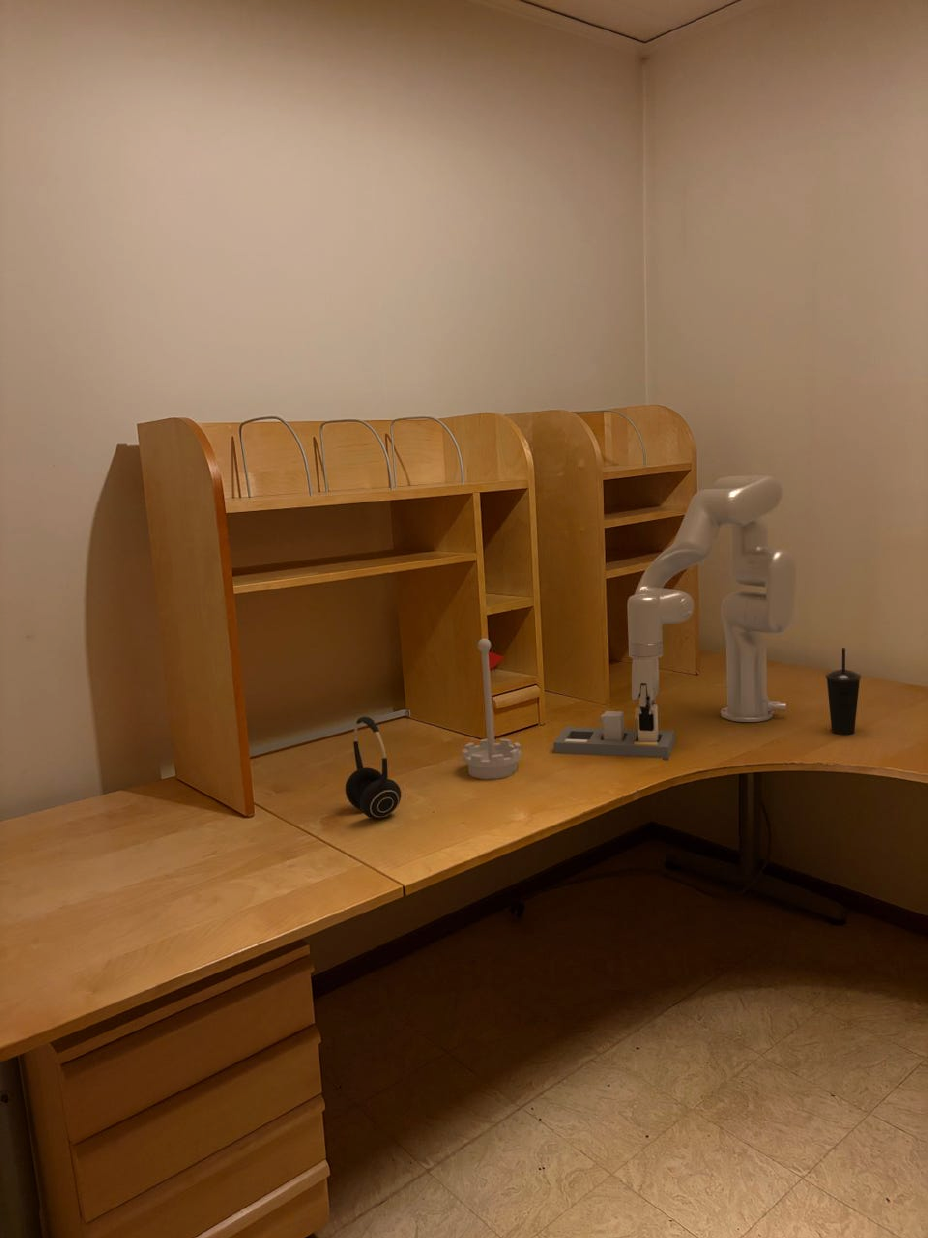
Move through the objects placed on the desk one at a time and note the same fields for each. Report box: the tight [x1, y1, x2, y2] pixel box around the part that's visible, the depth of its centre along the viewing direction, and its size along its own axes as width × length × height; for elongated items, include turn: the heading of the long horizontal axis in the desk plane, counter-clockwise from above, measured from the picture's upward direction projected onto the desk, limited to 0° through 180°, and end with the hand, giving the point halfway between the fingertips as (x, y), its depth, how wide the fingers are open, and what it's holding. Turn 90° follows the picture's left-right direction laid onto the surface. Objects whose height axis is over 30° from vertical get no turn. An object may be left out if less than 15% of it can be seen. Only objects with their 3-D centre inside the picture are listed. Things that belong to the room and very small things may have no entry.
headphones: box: [345, 716, 402, 820], centre depth 186 cm, size 9×15×20 cm, turn 30°
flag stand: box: [461, 638, 522, 780], centre depth 205 cm, size 13×13×30 cm
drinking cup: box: [824, 647, 862, 736], centre depth 215 cm, size 8×8×20 cm
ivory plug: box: [634, 704, 659, 742], centre depth 213 cm, size 5×4×8 cm
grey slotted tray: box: [552, 710, 676, 761], centre depth 216 cm, size 26×12×8 cm, turn 71°
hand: (648, 726), depth 213 cm, fingers closed on ivory plug, 4 cm apart
